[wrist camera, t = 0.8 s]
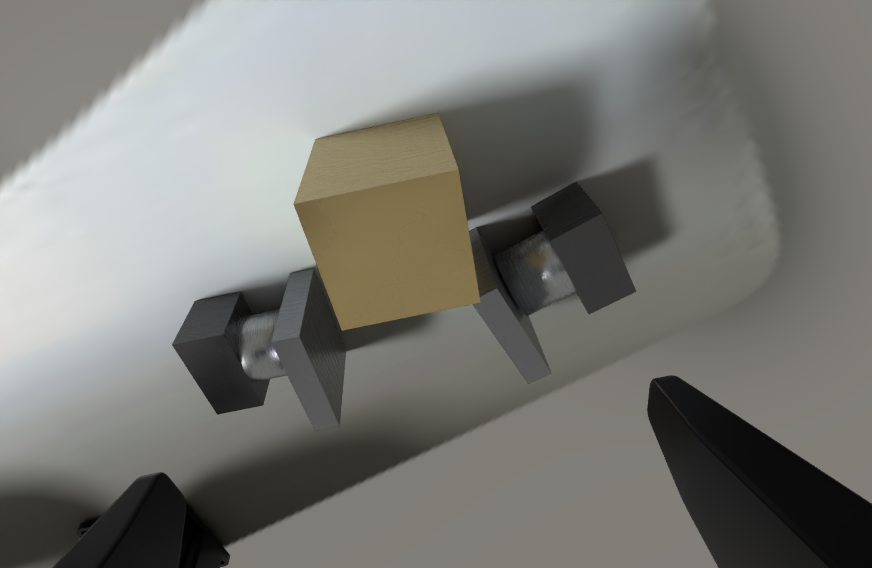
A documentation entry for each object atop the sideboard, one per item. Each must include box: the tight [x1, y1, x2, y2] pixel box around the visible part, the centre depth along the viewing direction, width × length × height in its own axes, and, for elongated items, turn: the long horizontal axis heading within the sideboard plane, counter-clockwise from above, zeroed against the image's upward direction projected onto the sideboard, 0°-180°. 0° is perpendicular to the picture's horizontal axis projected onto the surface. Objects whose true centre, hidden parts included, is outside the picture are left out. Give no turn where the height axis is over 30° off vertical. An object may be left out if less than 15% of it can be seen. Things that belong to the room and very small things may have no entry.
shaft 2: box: [172, 268, 346, 431], centre depth 20 cm, size 5×5×4 cm
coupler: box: [294, 113, 480, 331], centre depth 17 cm, size 4×4×6 cm
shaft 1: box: [469, 182, 636, 384], centre depth 19 cm, size 5×5×4 cm
